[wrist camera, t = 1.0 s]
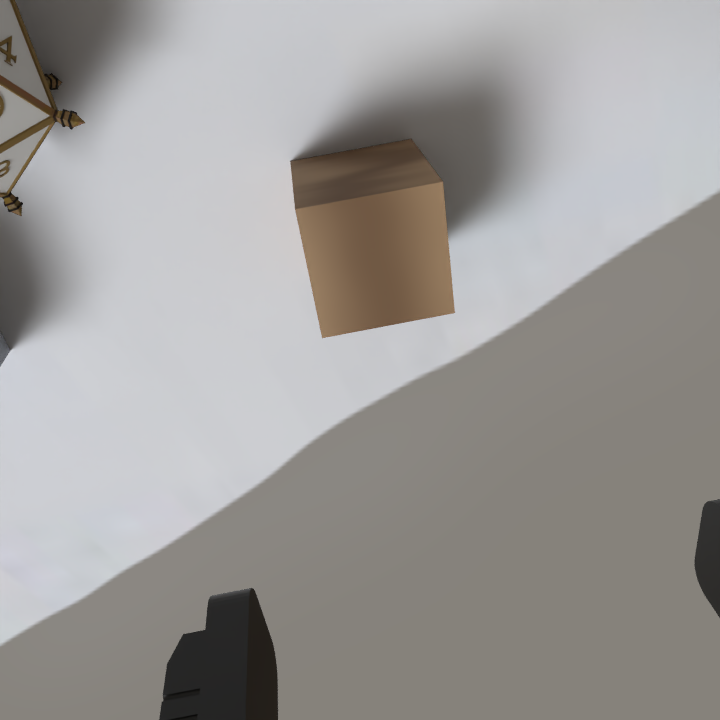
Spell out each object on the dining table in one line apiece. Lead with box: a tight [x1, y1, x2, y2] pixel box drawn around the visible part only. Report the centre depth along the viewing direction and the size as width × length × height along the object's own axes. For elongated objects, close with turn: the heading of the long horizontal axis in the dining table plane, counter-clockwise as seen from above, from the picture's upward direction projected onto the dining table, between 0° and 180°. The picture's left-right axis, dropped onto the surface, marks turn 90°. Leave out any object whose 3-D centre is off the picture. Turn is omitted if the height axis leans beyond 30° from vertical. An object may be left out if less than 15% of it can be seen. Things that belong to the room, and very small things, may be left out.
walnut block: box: [290, 139, 455, 338], centre depth 27 cm, size 5×5×6 cm
